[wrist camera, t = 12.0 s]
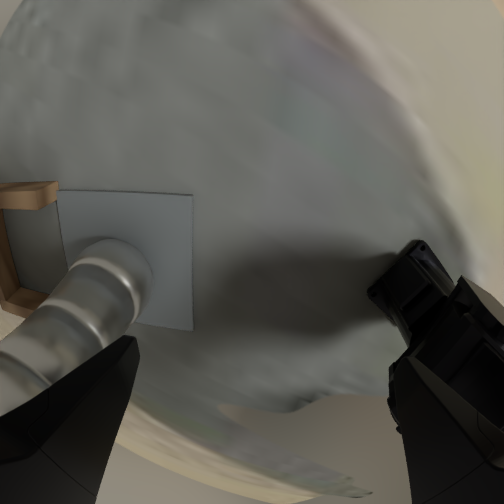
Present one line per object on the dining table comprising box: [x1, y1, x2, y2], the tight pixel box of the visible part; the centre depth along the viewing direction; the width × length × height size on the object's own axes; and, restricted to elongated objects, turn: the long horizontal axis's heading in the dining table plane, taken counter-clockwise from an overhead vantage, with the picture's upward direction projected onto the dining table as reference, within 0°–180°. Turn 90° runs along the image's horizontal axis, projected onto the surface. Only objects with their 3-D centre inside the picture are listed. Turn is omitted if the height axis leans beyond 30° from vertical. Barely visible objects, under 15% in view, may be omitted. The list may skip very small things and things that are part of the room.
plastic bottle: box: [0, 239, 154, 416], centre depth 13 cm, size 6×7×20 cm
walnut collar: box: [0, 181, 59, 318], centre depth 21 cm, size 10×13×3 cm
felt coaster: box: [56, 190, 194, 332], centre depth 22 cm, size 12×12×1 cm
